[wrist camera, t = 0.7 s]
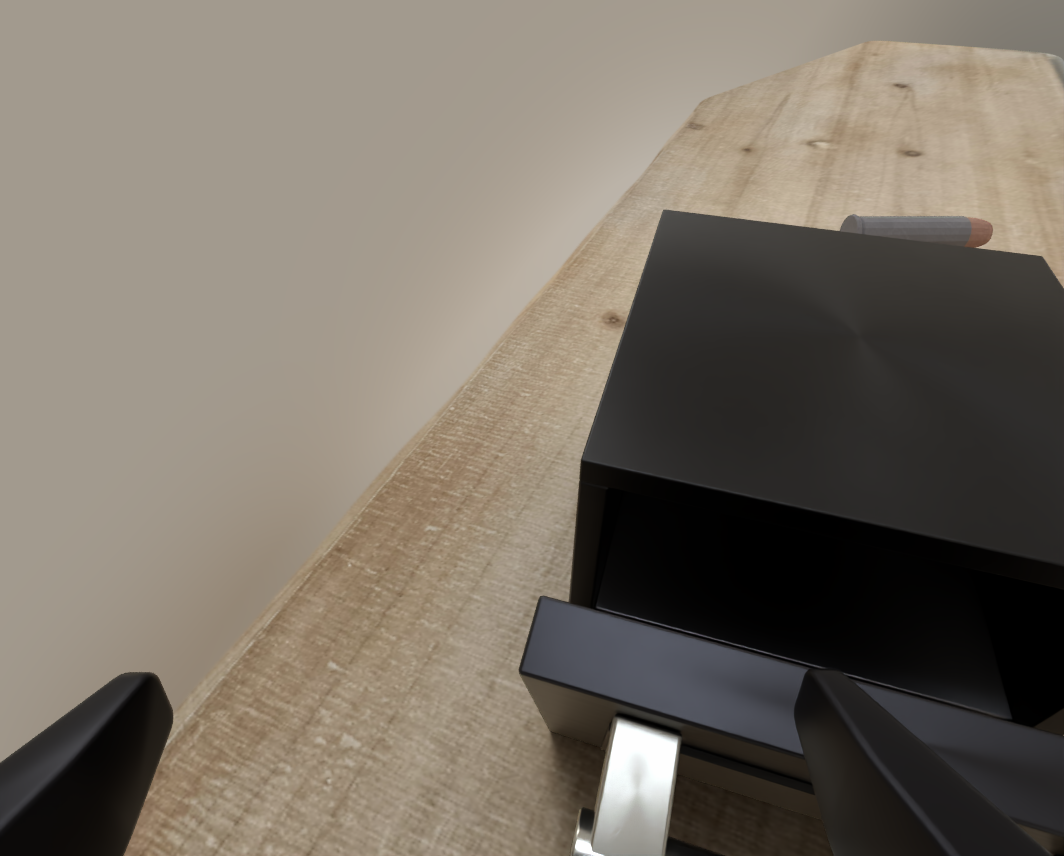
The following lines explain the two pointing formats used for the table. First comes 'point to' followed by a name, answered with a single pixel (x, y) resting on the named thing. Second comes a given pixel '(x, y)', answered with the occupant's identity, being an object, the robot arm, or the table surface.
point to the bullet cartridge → (924, 228)
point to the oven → (839, 460)
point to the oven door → (737, 730)
